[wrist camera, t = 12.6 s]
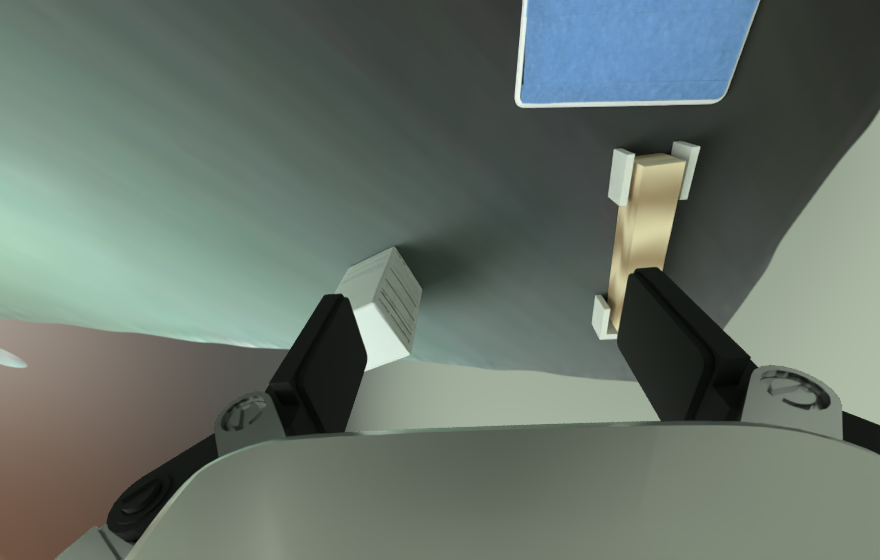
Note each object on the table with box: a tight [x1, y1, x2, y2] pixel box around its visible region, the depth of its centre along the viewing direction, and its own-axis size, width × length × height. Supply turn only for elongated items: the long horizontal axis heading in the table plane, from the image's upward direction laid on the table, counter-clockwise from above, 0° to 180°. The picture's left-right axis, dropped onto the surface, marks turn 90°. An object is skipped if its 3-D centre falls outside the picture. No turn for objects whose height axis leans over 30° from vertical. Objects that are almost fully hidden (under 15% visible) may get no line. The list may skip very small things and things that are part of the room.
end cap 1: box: [592, 295, 618, 340], centre depth 43 cm, size 5×6×3 cm
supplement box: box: [334, 247, 422, 372], centre depth 39 cm, size 7×7×13 cm
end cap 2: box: [608, 141, 700, 206], centre depth 34 cm, size 5×6×3 cm
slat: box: [607, 153, 686, 332], centre depth 38 cm, size 20×4×4 cm, turn 8°
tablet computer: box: [515, 0, 760, 108], centre depth 29 cm, size 19×13×1 cm, turn 91°
